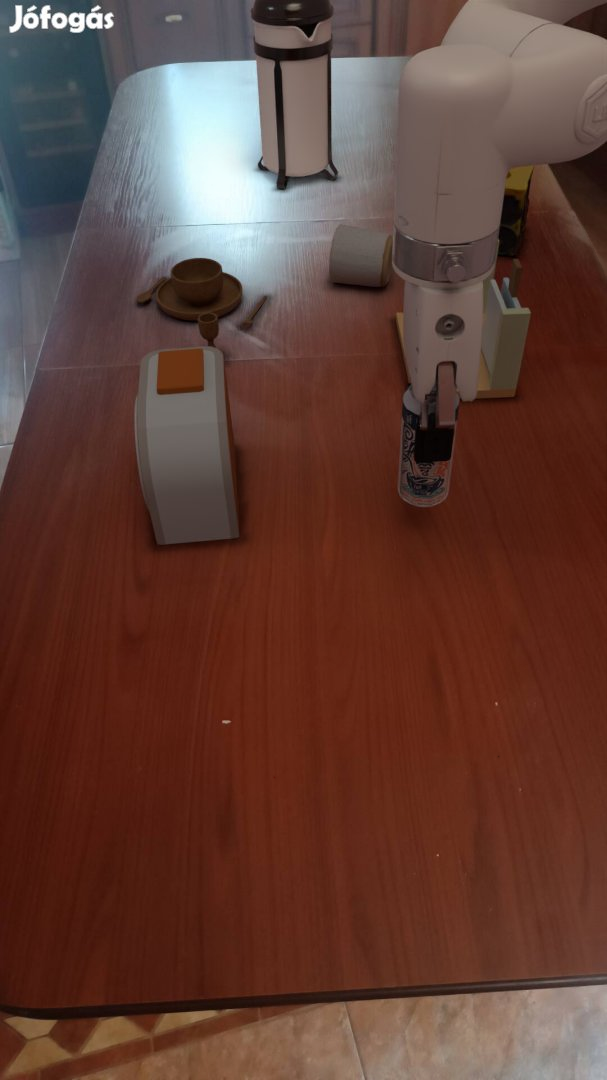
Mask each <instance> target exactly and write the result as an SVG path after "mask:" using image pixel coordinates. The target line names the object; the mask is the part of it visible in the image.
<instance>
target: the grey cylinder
mask: <svg viewBox="0 0 607 1080" xmlns="http://www.w3.org/2000/svg"><path fill="white" fill-rule="evenodd" d="M392 248H393V235H392V234H389V233H386V232H385V231H384V232H383V231H380V230H373V229H367V228H363V227H357V226H353V225H346V224H338V225H337V227H336V229H335V231H334V233H333V236H332V240H331V245H330V251H329V259H328V261H329V263H328V275H329V280H330V282H332V283H336V284H337V283H338V284H346V285H352V286H353V285H354V286H356V285H357V286H363V287H371V288H382V287H385V286H386V285H388V283H389V281H390V278H391V275H392V271H393V267H392Z"/></svg>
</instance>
